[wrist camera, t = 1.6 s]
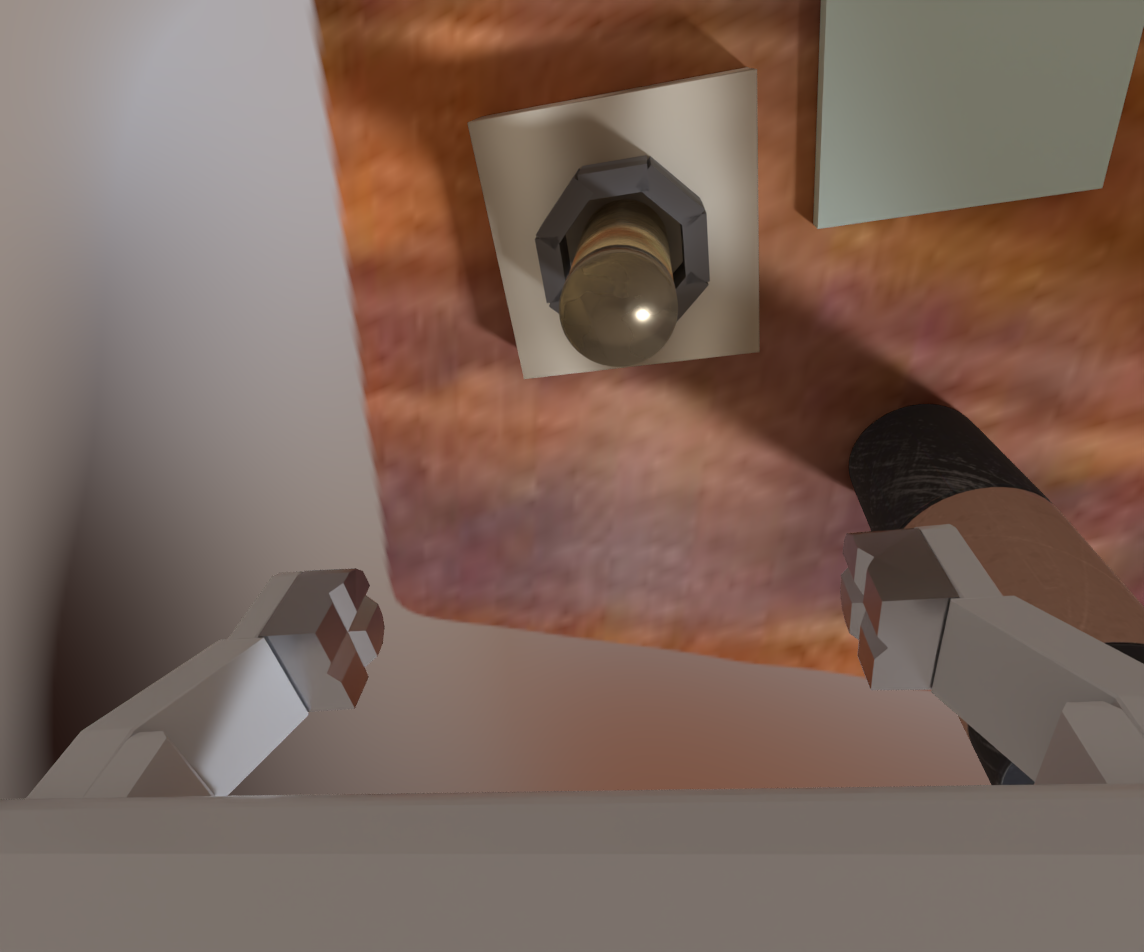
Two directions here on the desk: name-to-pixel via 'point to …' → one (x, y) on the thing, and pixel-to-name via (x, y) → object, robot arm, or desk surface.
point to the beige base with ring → (636, 172)
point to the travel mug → (990, 530)
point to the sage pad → (966, 102)
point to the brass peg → (620, 287)
